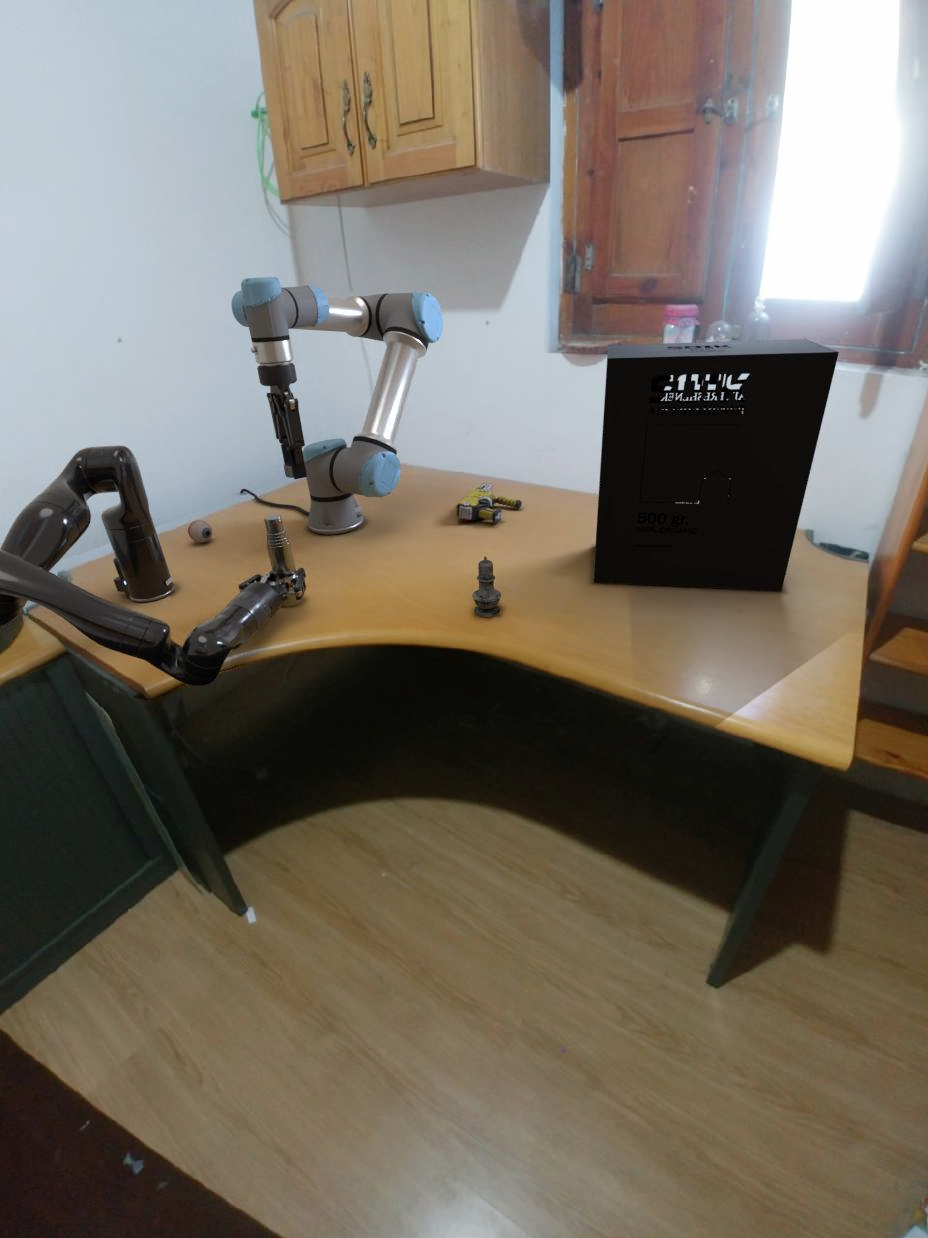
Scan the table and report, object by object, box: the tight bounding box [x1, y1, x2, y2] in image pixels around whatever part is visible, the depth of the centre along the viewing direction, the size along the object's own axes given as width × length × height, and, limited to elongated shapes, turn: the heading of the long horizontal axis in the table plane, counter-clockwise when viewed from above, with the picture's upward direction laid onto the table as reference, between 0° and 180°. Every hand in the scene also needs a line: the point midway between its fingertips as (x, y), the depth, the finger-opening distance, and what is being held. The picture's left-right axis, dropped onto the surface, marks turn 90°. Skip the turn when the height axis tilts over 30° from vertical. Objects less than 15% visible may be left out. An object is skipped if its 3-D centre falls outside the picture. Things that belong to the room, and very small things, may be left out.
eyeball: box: [187, 519, 213, 544], centre depth 162 cm, size 6×6×6 cm
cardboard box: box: [593, 338, 840, 592], centre depth 124 cm, size 38×20×45 cm, turn 78°
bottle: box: [263, 513, 303, 608], centre depth 126 cm, size 5×5×19 cm
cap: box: [283, 461, 307, 479], centre depth 135 cm, size 5×5×3 cm
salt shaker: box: [471, 555, 502, 618], centre depth 119 cm, size 6×6×12 cm
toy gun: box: [455, 482, 523, 525], centre depth 172 cm, size 5×24×15 cm
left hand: (291, 571), depth 130 cm, fingers closed on bottle, 4 cm apart
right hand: (296, 474), depth 135 cm, fingers closed on cap, 5 cm apart
